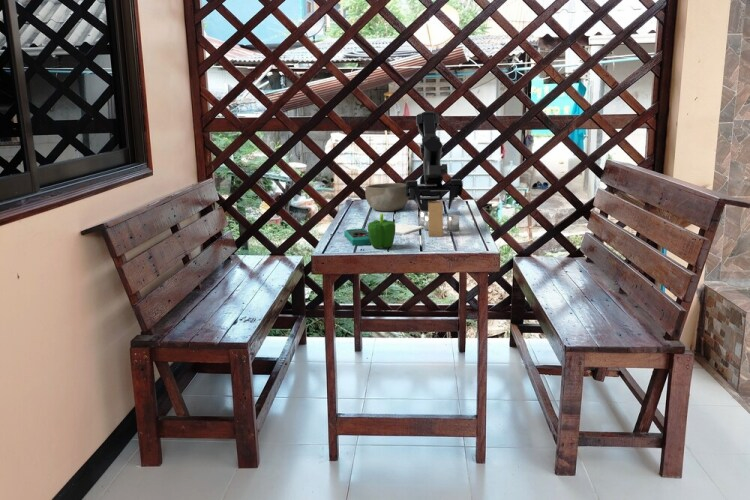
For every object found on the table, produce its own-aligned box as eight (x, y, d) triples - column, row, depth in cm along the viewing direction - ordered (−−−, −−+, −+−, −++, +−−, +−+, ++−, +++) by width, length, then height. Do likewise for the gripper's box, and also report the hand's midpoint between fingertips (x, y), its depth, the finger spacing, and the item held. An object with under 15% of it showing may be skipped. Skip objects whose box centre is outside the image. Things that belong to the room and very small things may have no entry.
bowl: (372, 205, 271) (371, 181, 269) (414, 206, 266) (413, 182, 264) (360, 213, 255) (359, 187, 253) (404, 214, 250) (404, 188, 248)
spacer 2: (428, 228, 223) (428, 213, 222) (438, 229, 221) (438, 214, 220) (422, 230, 220) (421, 215, 219) (432, 231, 218) (432, 216, 216)
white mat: (390, 224, 232) (390, 222, 232) (423, 227, 224) (423, 226, 223) (370, 230, 222) (370, 228, 222) (404, 234, 214) (404, 232, 214)
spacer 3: (451, 228, 221) (451, 214, 219) (461, 230, 218) (461, 215, 217) (445, 231, 218) (445, 216, 216) (455, 232, 215) (455, 217, 214)
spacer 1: (423, 224, 230) (423, 210, 229) (433, 225, 228) (433, 211, 226) (417, 226, 227) (417, 212, 226) (427, 227, 224) (427, 213, 223)
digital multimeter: (352, 247, 200) (352, 238, 200) (344, 237, 214) (343, 228, 214) (376, 245, 202) (375, 236, 201) (365, 236, 216) (365, 227, 215)
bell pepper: (390, 251, 192) (389, 217, 190) (364, 249, 196) (363, 216, 193) (400, 244, 200) (399, 212, 198) (375, 243, 203) (374, 211, 201)
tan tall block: (428, 233, 214) (428, 200, 211) (441, 233, 214) (441, 200, 211) (429, 236, 210) (428, 203, 207) (442, 236, 210) (442, 202, 207)
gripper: (405, 156, 212) (406, 194, 204) (462, 154, 212) (466, 193, 204) (404, 177, 222) (406, 215, 214) (459, 176, 221) (463, 213, 213)
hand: (435, 208), depth 211 cm, fingers open, 9 cm apart
